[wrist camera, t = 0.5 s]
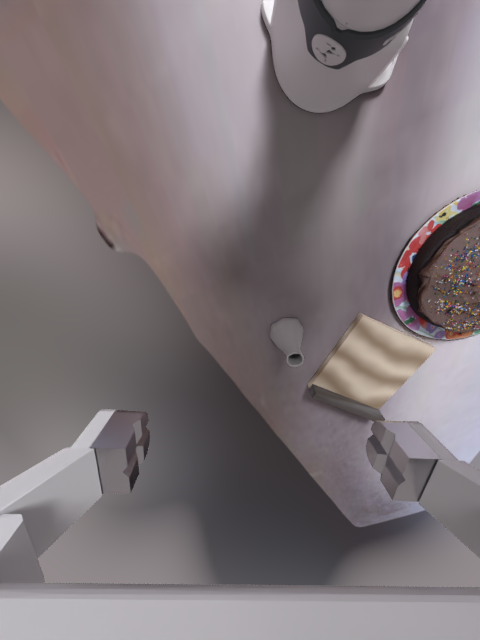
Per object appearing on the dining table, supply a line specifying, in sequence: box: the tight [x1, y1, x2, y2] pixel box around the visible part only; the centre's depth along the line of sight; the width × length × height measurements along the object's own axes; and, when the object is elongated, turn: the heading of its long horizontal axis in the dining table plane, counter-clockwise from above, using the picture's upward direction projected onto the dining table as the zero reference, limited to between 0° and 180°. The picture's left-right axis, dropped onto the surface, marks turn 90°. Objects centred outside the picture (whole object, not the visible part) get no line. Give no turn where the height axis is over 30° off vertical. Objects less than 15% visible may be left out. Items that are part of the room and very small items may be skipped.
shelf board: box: [308, 313, 436, 422], centre depth 51 cm, size 20×18×4 cm
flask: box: [270, 318, 305, 367], centre depth 45 cm, size 7×7×10 cm
